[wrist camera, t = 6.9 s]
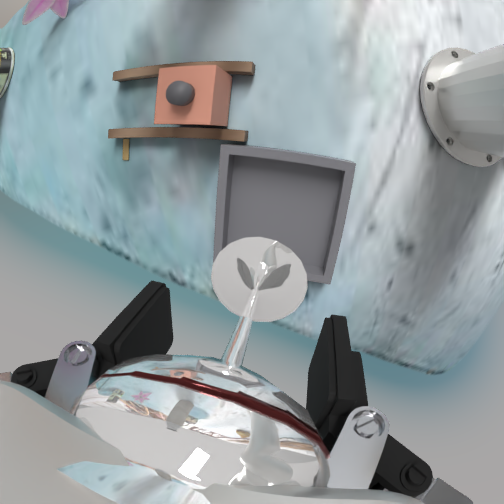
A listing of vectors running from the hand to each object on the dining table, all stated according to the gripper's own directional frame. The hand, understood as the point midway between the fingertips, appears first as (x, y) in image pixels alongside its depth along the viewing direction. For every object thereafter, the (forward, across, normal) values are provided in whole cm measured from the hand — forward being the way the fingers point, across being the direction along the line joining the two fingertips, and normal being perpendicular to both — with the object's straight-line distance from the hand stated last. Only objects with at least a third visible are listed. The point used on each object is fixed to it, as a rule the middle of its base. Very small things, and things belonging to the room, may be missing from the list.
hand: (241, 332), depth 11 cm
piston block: (+18, +8, -10) cm, 22 cm away
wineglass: (+4, 0, 0) cm, 4 cm away
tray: (+18, 0, 0) cm, 18 cm away
